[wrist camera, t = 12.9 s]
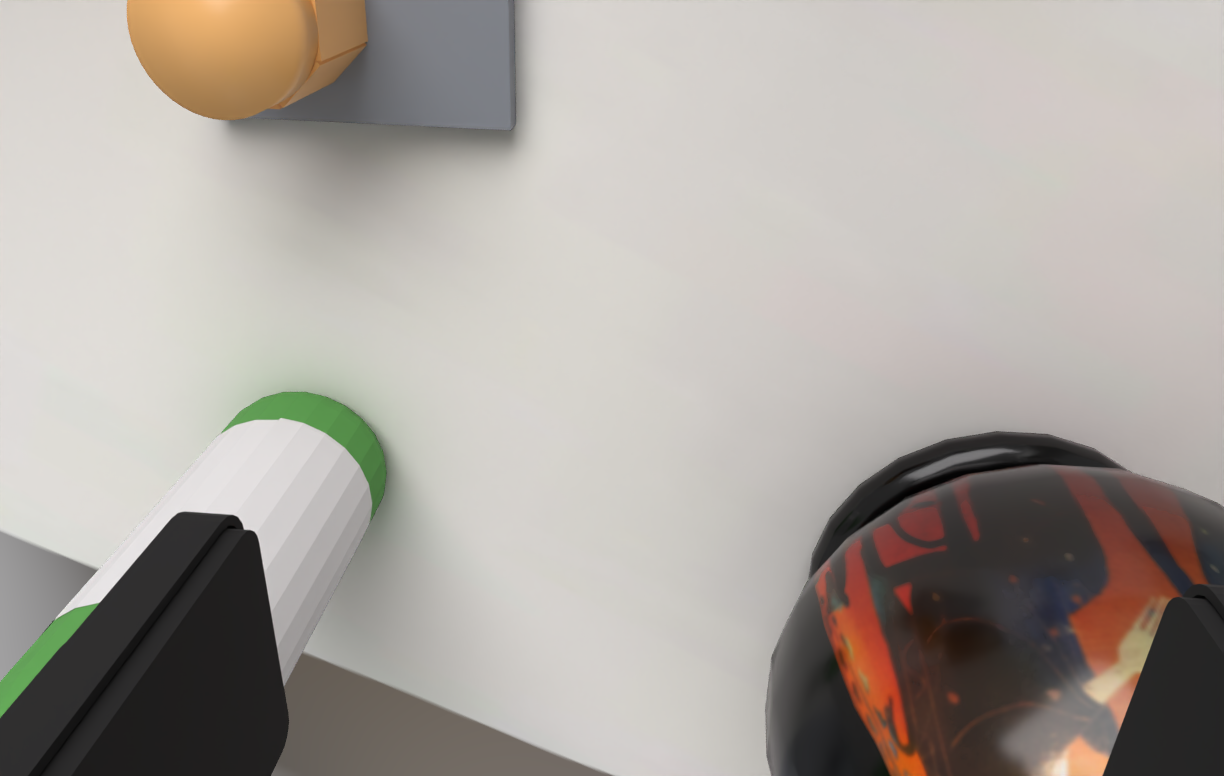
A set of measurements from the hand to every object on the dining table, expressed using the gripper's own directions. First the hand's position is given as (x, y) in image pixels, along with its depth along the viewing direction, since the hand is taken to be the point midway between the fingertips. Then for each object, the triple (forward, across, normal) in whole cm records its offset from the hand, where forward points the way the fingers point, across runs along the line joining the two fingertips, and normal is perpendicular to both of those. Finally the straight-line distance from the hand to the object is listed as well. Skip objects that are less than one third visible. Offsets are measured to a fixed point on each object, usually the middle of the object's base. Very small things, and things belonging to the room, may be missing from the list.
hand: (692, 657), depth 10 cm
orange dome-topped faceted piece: (+29, +15, -3) cm, 33 cm away
